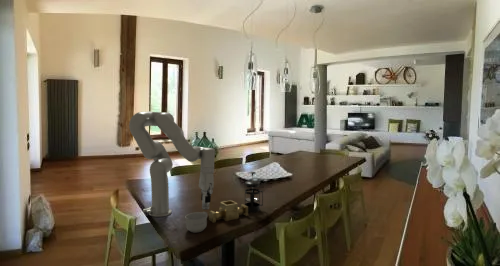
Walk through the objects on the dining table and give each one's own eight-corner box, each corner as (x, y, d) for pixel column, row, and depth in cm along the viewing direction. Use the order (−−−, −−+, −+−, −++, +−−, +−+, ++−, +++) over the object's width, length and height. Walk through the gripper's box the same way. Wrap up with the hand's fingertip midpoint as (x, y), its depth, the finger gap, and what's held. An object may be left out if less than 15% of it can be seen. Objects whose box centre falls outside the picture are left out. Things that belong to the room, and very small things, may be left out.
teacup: (194, 236, 160) (194, 220, 160) (180, 230, 168) (180, 215, 167) (215, 228, 171) (215, 213, 170) (202, 223, 178) (202, 208, 177)
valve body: (214, 223, 177) (214, 208, 176) (207, 219, 184) (207, 204, 183) (249, 216, 189) (249, 201, 189) (241, 212, 196) (241, 198, 195)
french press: (242, 212, 196) (242, 173, 194) (244, 207, 206) (244, 170, 203) (262, 212, 195) (262, 174, 193) (263, 207, 205) (263, 170, 202)
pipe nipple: (203, 209, 188) (204, 189, 186) (200, 207, 191) (201, 187, 190) (210, 209, 190) (211, 188, 189) (207, 206, 193) (208, 186, 192)
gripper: (194, 167, 193) (193, 198, 195) (207, 173, 179) (206, 206, 181) (206, 166, 197) (205, 196, 199) (220, 172, 183) (218, 204, 185)
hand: (205, 200), depth 190 cm, fingers closed on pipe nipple, 4 cm apart
